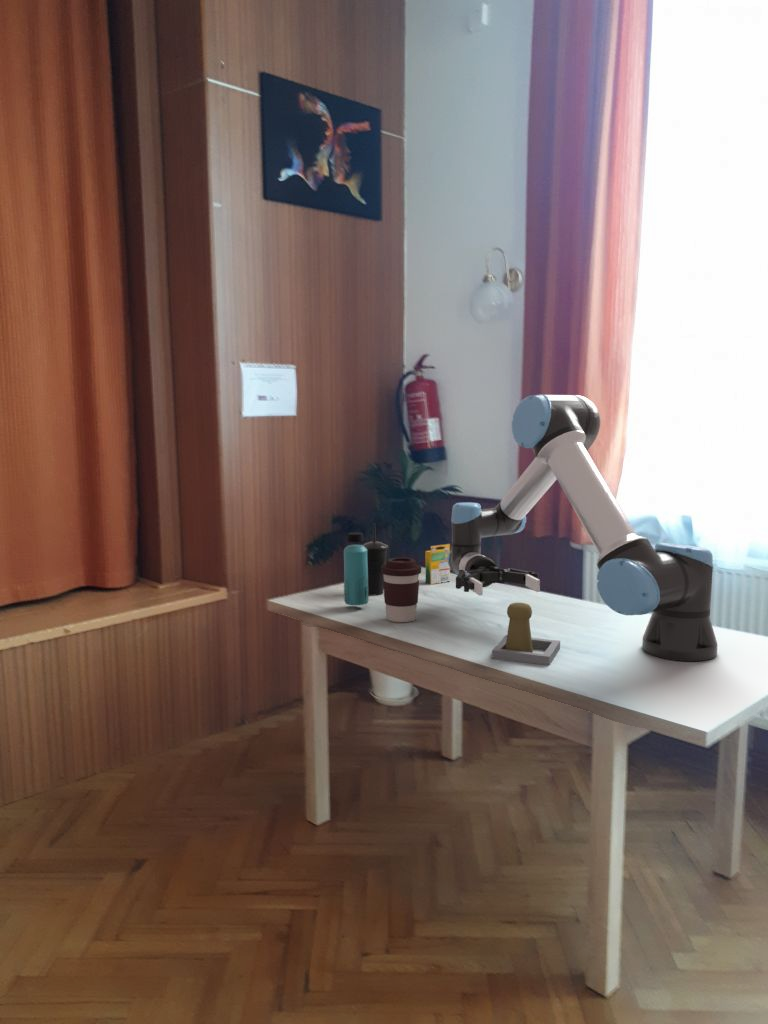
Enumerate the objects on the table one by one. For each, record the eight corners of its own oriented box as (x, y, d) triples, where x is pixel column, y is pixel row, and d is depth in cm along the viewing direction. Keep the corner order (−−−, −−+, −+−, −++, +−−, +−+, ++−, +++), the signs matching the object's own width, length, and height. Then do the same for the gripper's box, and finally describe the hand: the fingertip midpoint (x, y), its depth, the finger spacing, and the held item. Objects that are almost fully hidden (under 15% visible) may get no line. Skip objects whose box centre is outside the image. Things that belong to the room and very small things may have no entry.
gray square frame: (560, 648, 174) (560, 640, 174) (549, 665, 163) (549, 656, 163) (505, 642, 178) (506, 635, 178) (491, 658, 167) (492, 650, 167)
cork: (539, 655, 169) (540, 605, 168) (515, 660, 166) (516, 608, 165) (521, 648, 174) (522, 599, 173) (498, 652, 172) (499, 602, 170)
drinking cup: (389, 590, 230) (389, 521, 227) (386, 596, 222) (386, 525, 219) (363, 589, 230) (362, 521, 228) (359, 596, 223) (358, 525, 220)
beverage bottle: (368, 611, 207) (367, 534, 204) (342, 611, 207) (341, 534, 204) (369, 604, 213) (368, 530, 210) (344, 604, 213) (343, 530, 211)
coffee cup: (381, 624, 194) (380, 563, 192) (381, 614, 204) (381, 556, 202) (421, 624, 194) (422, 563, 192) (420, 614, 204) (420, 556, 202)
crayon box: (444, 580, 243) (444, 542, 242) (450, 581, 241) (450, 543, 239) (424, 582, 239) (424, 544, 238) (430, 584, 237) (430, 546, 235)
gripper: (525, 581, 202) (561, 600, 182) (430, 587, 197) (456, 607, 176) (525, 552, 201) (561, 568, 181) (430, 557, 196) (456, 574, 175)
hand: (509, 587), depth 179 cm, fingers open, 13 cm apart
